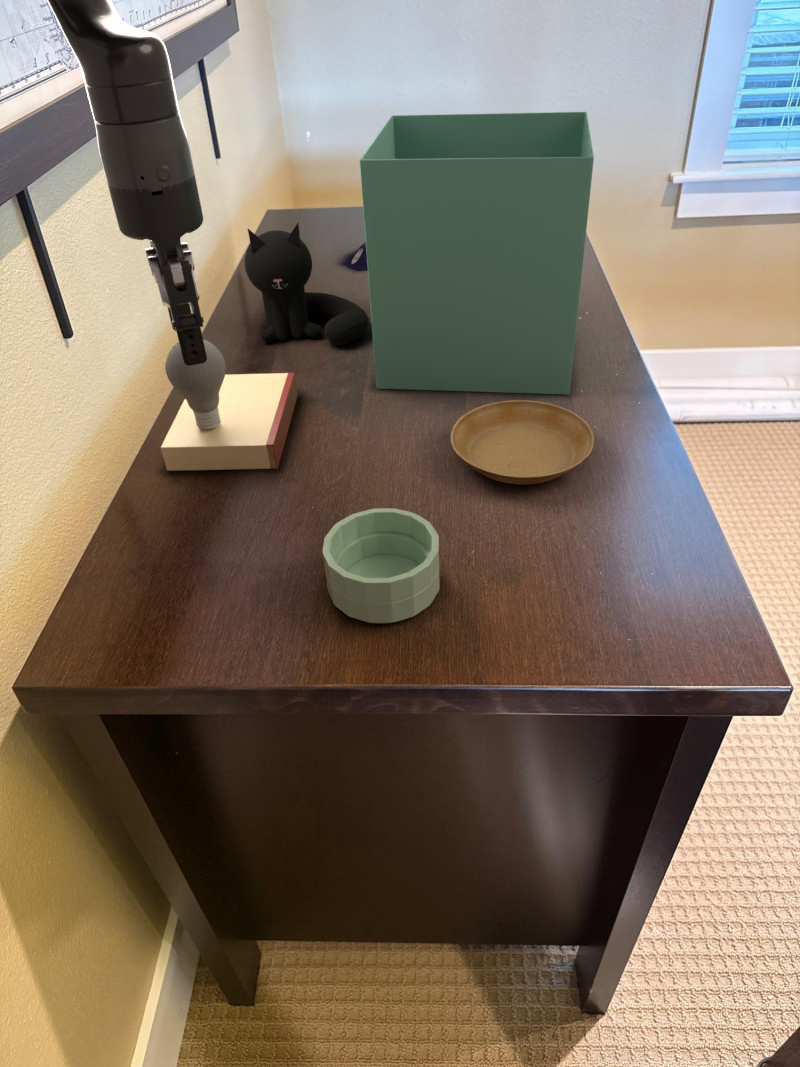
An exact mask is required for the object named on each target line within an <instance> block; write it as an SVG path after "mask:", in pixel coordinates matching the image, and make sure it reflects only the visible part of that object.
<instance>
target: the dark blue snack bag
mask: <svg viewBox="0 0 800 1067" xmlns="http://www.w3.org/2000/svg"><path fill="white" fill-rule="evenodd" d="M342 264H343V265H344V266H346V267H348V268H350V269H352V270H354V271H357V272H358V271H360V272H361V271H368V266H367V253H366V241H365V242H364V243H362V244H361V245H360V246H359V248H357V250H356V251H355V252H354V253H352V254H349V255H348V256H347V257H346V258H345V260H344V261H343V262H342Z"/></svg>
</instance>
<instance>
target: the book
mask: <svg viewBox="0 0 800 1067" xmlns="http://www.w3.org/2000/svg"><path fill="white" fill-rule="evenodd" d="M298 396H299V394H298V386H297V380H296V373H295V372H294V371H293V372H278V373H277V372H276V373H275V372H274V373H273V372H272V373H241V374H239V373H238V374H237V373H236V374H225V377H224V380H223V383H222V385H221V388H220V391H219V404H218V411H219V416H220V419H221V423H220V424H219V425H218V426H216V427H214V428H212V429H202V428H199V427H197V425H196V421H195V417H194V413H193V410H192V409H191V408H190V407H189V405H188V403H187V400H186V399H185V398H184V399H183V402H182V404H181V406H180V407H179V410H178V411H177V414H176V416H175V418H174V419H173V421H172V423H171V425H170V428H169V430H168V432H167V434H166V436H165V438H164V440H163V442H162V443H161V446H160V450H161V454H162V458H163V461H164V465H165V468H166V471H167V472H170V471H171V472H173V471H176V472H178V471H179V472H180V471H223V470H225V471H226V470H227V471H228V470H269V469H270V470H278V469H279V465H280V462H281V458H282V454H283V451H284V447H285V443H286V440H287V437H288V432H289V429H290V425H291V422H292V418H293V414H294V410H295V407H296V404H297V399H298Z"/></svg>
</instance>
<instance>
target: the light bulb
mask: <svg viewBox="0 0 800 1067" xmlns="http://www.w3.org/2000/svg"><path fill="white" fill-rule="evenodd" d="M203 342H204V346H205V351H206V356H207V361H206V362H205V363H201V364H196V365H191V366H188V365H186V364H185V363H184V360H183V357H182V353H181V348H180V344H179V341H178V342H176V343H175V344H174V345H173V346H172V348H171V349H170V350H169V351H168V354H167V356H166V360H165V364H164V365H165V367H164V369H165V375H166V376H167V379H168V381H169V382H170V384H171V385H172V387H173V388H174V389H175V390H176V391H177V392H178V393H179V394H180V395H181V396H182V397H183V398H184V400H185V399H186V400H187V403H188V405H189V407H190V408H191V409H192V410H193V413H194V417H195V421H196V425H197V427H199V428H202V429H212V428H214V427H216V426H218V425H219V424H220V423H221V419H220V416H219V411H218V404H219V391H220V388H221V385H222V383H223V380H224V377H225V375H226V370H227V368H226V362H225V357H224V356H223V354H222V352H221V351H220V350H219V348H218V347H217V346H215V345H214V343H211V342H210V341H209V340H206V339H204V338H203Z"/></svg>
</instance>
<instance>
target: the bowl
mask: <svg viewBox="0 0 800 1067" xmlns="http://www.w3.org/2000/svg"><path fill="white" fill-rule="evenodd" d="M439 535H440V534H438V532H437V531H436V529H435V528H434V526H433V525H432V523H431V522H430V521H428V520H427V519H425V518H423V517H422V516H420V515H419V514H417V513H415V512H412V511H407V510H404V509H399V508H395V507H394V508H392V507H391V508H390V507H387V508H383V507H382V508H381V507H380V508H369V509H366V510H362V511H358V512H355V513H352V514H350V515H348V516H346V517H345V518H343V519H341V520H339V521H338V522H336V523H335V524H334V525H333V526H332V528H331V529H330V530H329V531H328V533H327V534H326V535H325V536H324V539H323V546H322V549H321V554H322V559H323V567H324V573H325V580H326V586H327V588H326V589H327V593H328V594H329V596H330V599H331V601H332V603H333V605H334V606H335V607H336V608H338V609H339V611H341V612H342V613H343V614H344V615H346V616H347V617H349V618H351V619H355V620H358V621H362V622H366V623H369V624H392V623H397V622H401V621H404V620H408V619H410V618H413V617H415V616H417V615H418V614H420V613H421V612H423V611H424V610H425V609H427V608H428V607H429V606H431V605H432V603H433V601H434V599H435V598H436V596H437V595H438V592H439V591H440V589H441V587H440V586H441V584H440V582H441V580H440V579H441V578H440V573H441V572H440V570H441V569H440V536H439Z"/></svg>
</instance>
